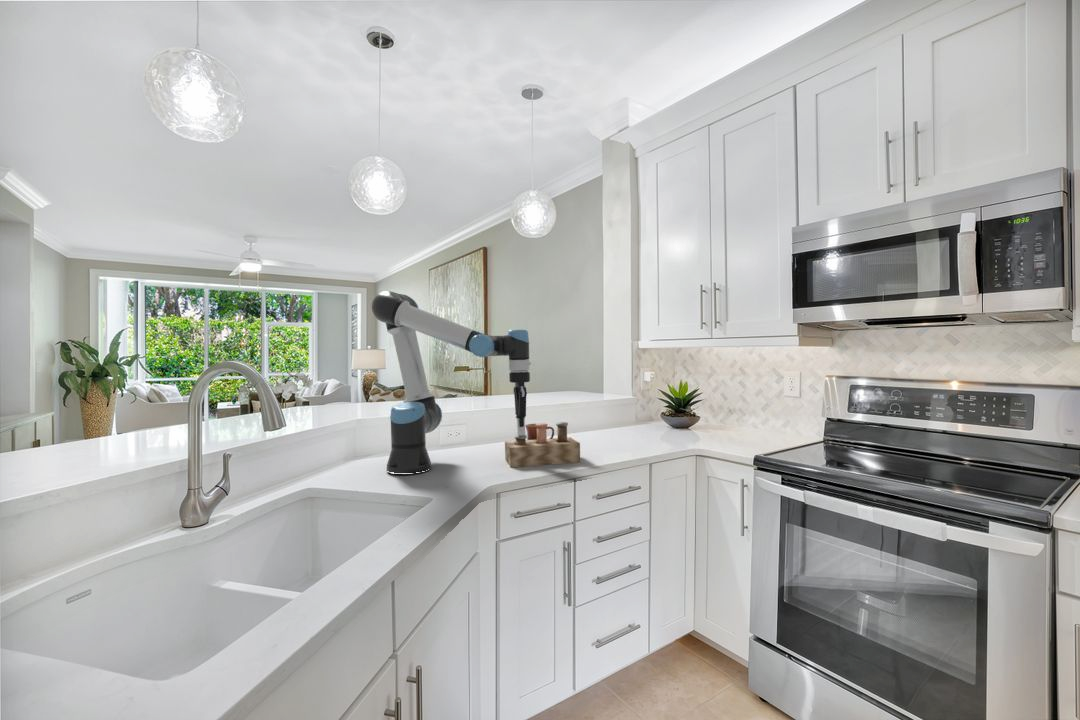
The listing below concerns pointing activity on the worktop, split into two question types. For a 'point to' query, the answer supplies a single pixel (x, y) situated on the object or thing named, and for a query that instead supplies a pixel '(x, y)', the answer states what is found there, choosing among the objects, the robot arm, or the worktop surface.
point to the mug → (535, 431)
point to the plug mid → (541, 433)
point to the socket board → (542, 452)
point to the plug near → (520, 439)
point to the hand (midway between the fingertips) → (521, 435)
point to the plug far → (562, 431)
